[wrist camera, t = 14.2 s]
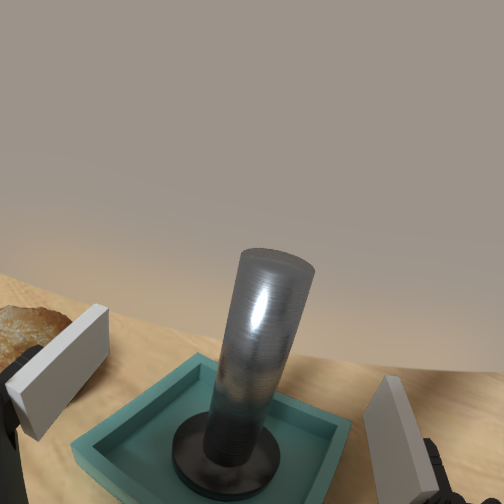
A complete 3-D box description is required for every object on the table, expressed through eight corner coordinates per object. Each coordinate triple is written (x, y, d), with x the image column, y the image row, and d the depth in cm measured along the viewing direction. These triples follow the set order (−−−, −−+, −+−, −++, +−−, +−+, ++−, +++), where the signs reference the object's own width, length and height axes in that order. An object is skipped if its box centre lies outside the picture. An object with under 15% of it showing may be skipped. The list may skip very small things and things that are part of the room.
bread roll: (-2, 379, 21) (-51, 326, 16) (65, 318, 28) (30, 258, 23) (42, 451, 17) (-22, 407, 12) (122, 374, 23) (81, 311, 18)
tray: (341, 440, 22) (352, 421, 21) (271, 585, 10) (284, 578, 9) (194, 372, 27) (197, 352, 26) (76, 463, 15) (69, 443, 14)
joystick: (289, 449, 20) (366, 268, 15) (246, 519, 14) (340, 325, 9) (207, 409, 22) (244, 227, 18) (150, 464, 16) (159, 252, 12)
